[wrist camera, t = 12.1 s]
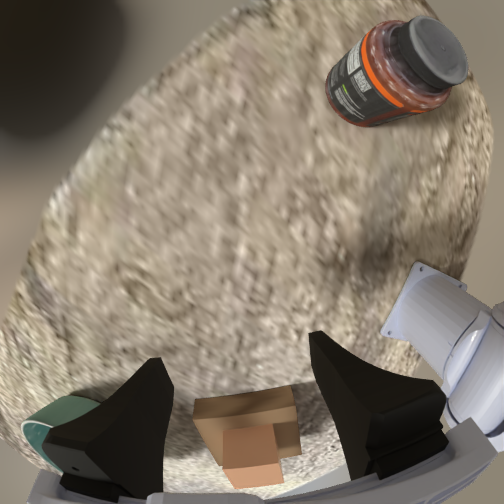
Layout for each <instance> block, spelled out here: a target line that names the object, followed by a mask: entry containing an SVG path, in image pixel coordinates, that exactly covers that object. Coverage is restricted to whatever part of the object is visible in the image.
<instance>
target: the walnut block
mask: <svg viewBox="0 0 504 504" xmlns="http://www.w3.org/2000/svg"><path fill="white" fill-rule="evenodd" d="M192 420H193V422H194V424H195V426H196V428H197V429H198V431H199V433H200V435H201V437H202V438H203V440H204V442H205V444H206V445H207V447H208V449H209V451H210V452H211V454H212V456H213V457H214V459H215V461H216V462H217V464H218V465H219V466H223V430H231V429H240V428H247V427H254V426H261V425H267V424H273V428H274V432H275V436H276V440H277V444H278V448H279V455H280V459H282V458H287V457H292V456H297V455H302V451H301V443H300V435H299V427H298V420H297V412H296V405H295V401H294V397H293V393H292V390H291V386H290V385H289V386H284V387H279V388H274V389H268V390H263V391H257V392H251V393H244V394H237V395H230V396H222V397H213V398H204V399H195V404H194V411H193V419H192Z"/></svg>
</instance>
